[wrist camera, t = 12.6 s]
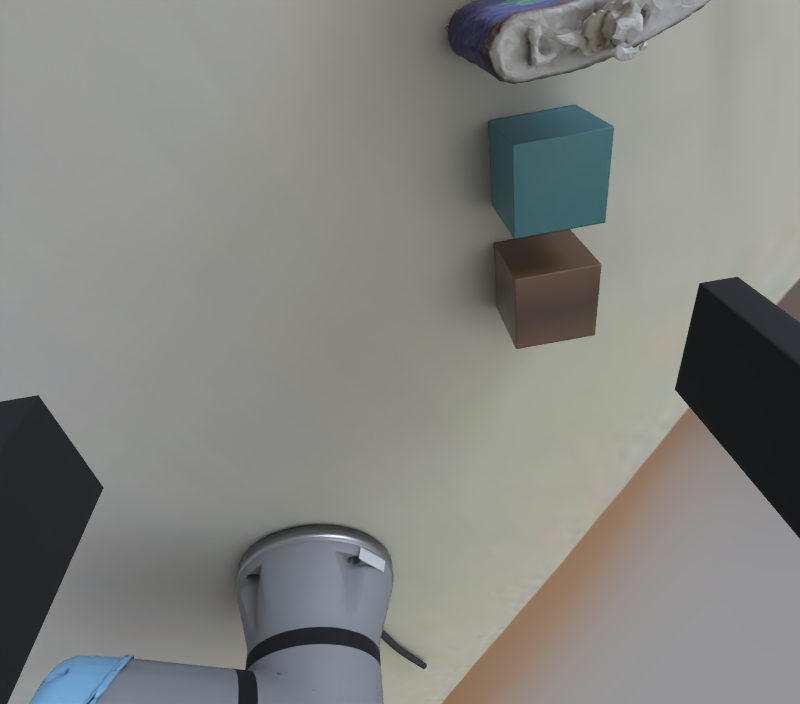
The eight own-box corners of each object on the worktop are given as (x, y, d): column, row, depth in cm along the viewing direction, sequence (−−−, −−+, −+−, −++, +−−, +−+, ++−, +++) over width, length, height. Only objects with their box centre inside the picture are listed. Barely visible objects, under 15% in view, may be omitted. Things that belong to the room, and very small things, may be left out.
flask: (621, -69, 25) (770, -85, 17) (627, 0, 27) (764, 19, 18) (438, 12, 26) (488, 36, 18) (454, 73, 28) (507, 123, 19)
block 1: (571, 191, 33) (605, 222, 28) (492, 205, 33) (514, 239, 29) (576, 104, 30) (614, 126, 26) (488, 120, 30) (512, 144, 26)
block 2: (566, 295, 37) (595, 335, 33) (496, 307, 37) (516, 349, 33) (570, 229, 34) (601, 264, 30) (493, 242, 34) (514, 279, 30)
